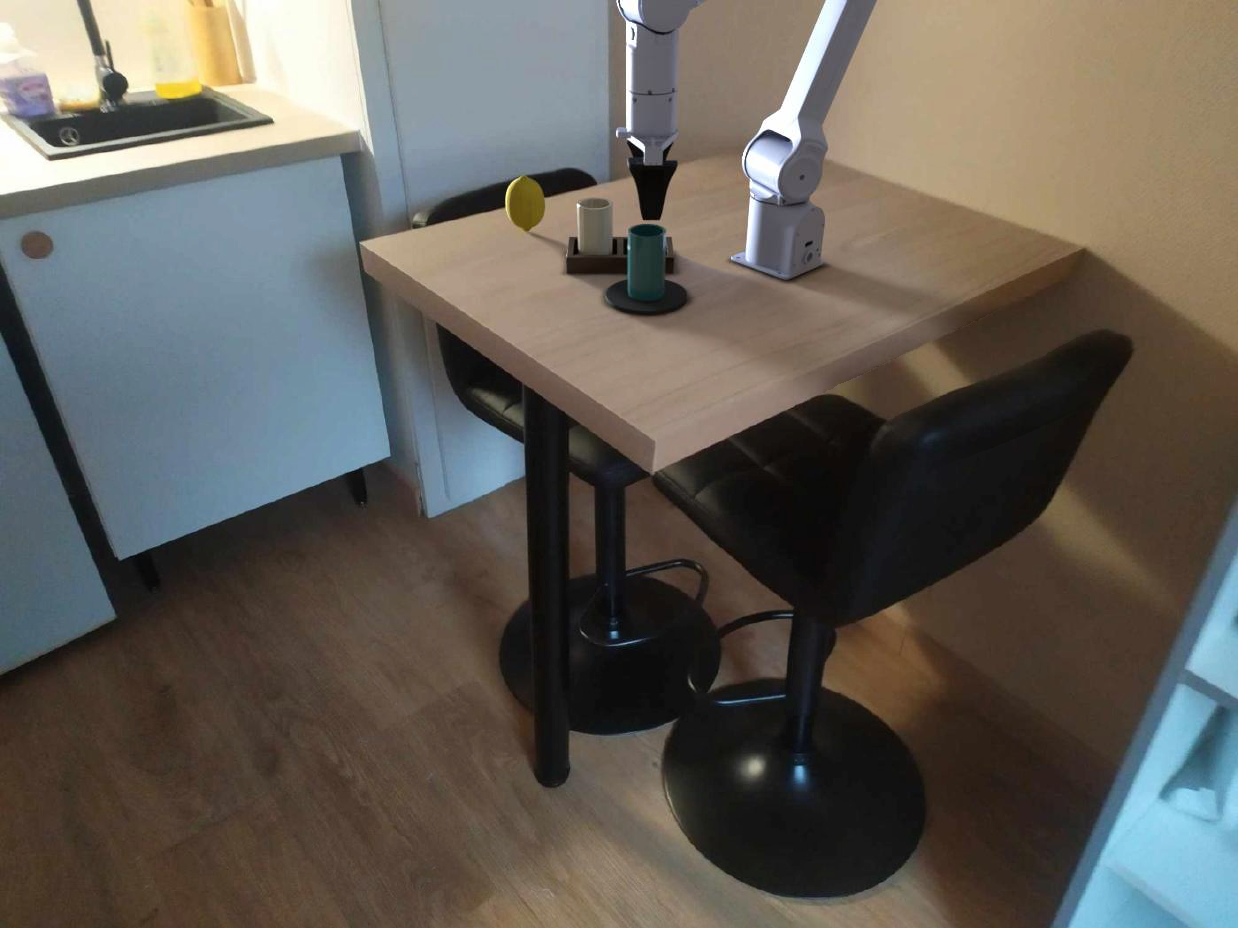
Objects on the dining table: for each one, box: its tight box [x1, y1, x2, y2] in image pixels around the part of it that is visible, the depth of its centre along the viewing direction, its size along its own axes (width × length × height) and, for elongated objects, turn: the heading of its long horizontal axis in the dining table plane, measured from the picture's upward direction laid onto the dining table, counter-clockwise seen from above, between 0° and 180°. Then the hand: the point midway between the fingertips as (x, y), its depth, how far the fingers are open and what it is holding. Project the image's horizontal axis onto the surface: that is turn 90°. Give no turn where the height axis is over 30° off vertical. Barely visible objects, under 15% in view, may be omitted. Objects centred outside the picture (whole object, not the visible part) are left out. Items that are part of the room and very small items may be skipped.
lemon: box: [505, 174, 546, 233], centre depth 130 cm, size 6×6×8 cm
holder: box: [565, 236, 675, 274], centre depth 122 cm, size 7×14×2 cm, turn 90°
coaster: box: [605, 278, 688, 316], centre depth 113 cm, size 10×10×1 cm
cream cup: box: [576, 197, 614, 255], centre depth 120 cm, size 4×4×8 cm
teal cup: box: [627, 223, 667, 301], centre depth 111 cm, size 4×4×8 cm
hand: (650, 208), depth 111 cm, fingers open, 7 cm apart
